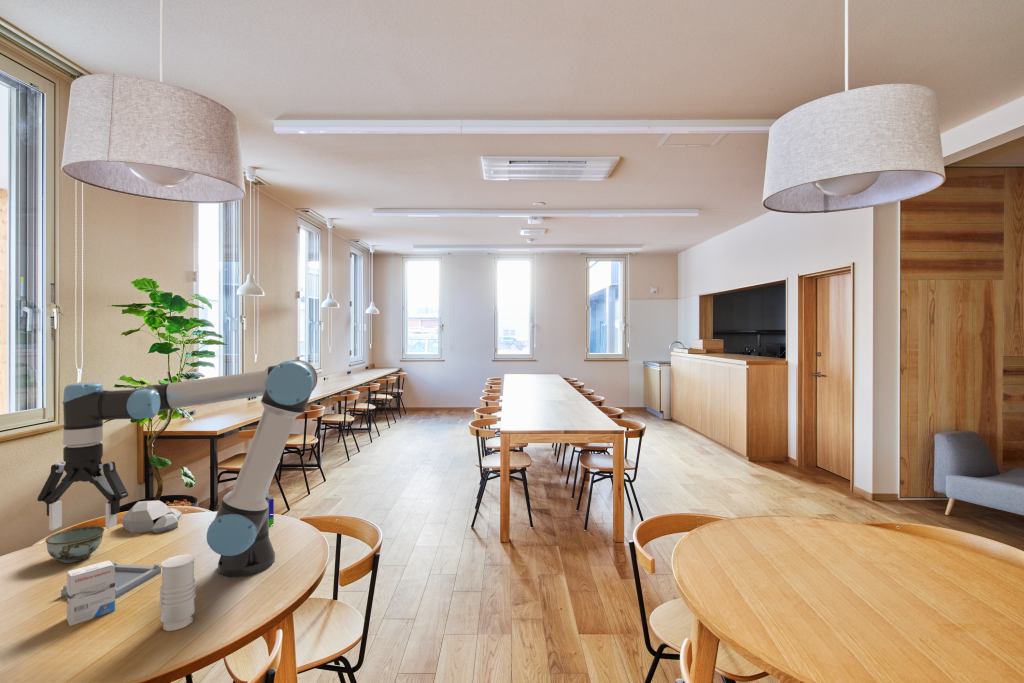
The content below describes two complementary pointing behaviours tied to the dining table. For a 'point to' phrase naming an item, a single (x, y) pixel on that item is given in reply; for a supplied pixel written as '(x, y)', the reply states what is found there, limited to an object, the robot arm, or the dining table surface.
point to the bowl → (74, 543)
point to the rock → (150, 517)
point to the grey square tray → (128, 577)
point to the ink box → (90, 592)
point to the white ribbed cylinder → (177, 592)
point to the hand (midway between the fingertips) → (83, 527)
